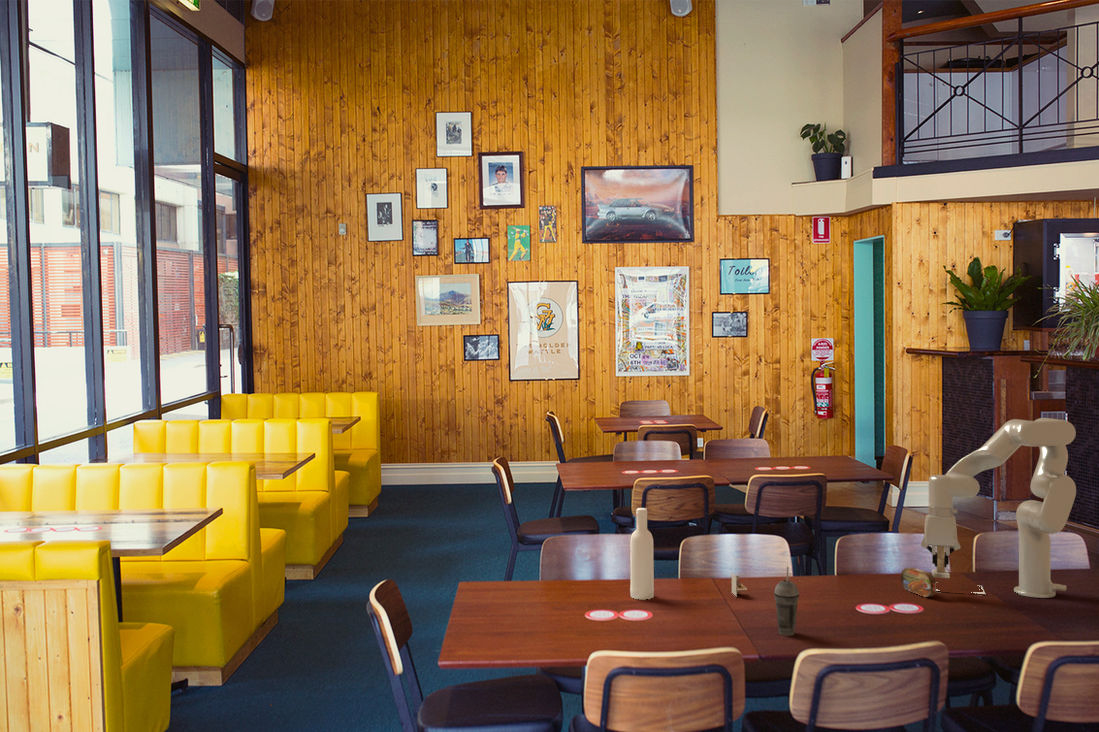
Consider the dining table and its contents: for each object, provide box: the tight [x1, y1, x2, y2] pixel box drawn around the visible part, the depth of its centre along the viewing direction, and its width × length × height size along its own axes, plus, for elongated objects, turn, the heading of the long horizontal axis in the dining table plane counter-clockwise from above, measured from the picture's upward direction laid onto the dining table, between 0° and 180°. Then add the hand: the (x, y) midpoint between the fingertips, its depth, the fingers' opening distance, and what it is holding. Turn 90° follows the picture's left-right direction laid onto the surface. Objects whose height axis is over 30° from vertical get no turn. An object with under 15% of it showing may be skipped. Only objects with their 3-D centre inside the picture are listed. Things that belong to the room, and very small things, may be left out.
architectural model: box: [731, 573, 748, 598], centre depth 318 cm, size 3×7×7 cm, turn 4°
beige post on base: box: [931, 546, 951, 579], centre depth 316 cm, size 5×8×11 cm, turn 161°
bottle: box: [629, 507, 655, 601], centre depth 317 cm, size 8×8×30 cm
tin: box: [900, 567, 937, 598], centre depth 318 cm, size 15×3×8 cm, turn 18°
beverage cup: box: [773, 566, 800, 637], centre depth 275 cm, size 7×7×20 cm
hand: (940, 565), depth 316 cm, fingers closed on beige post on base
